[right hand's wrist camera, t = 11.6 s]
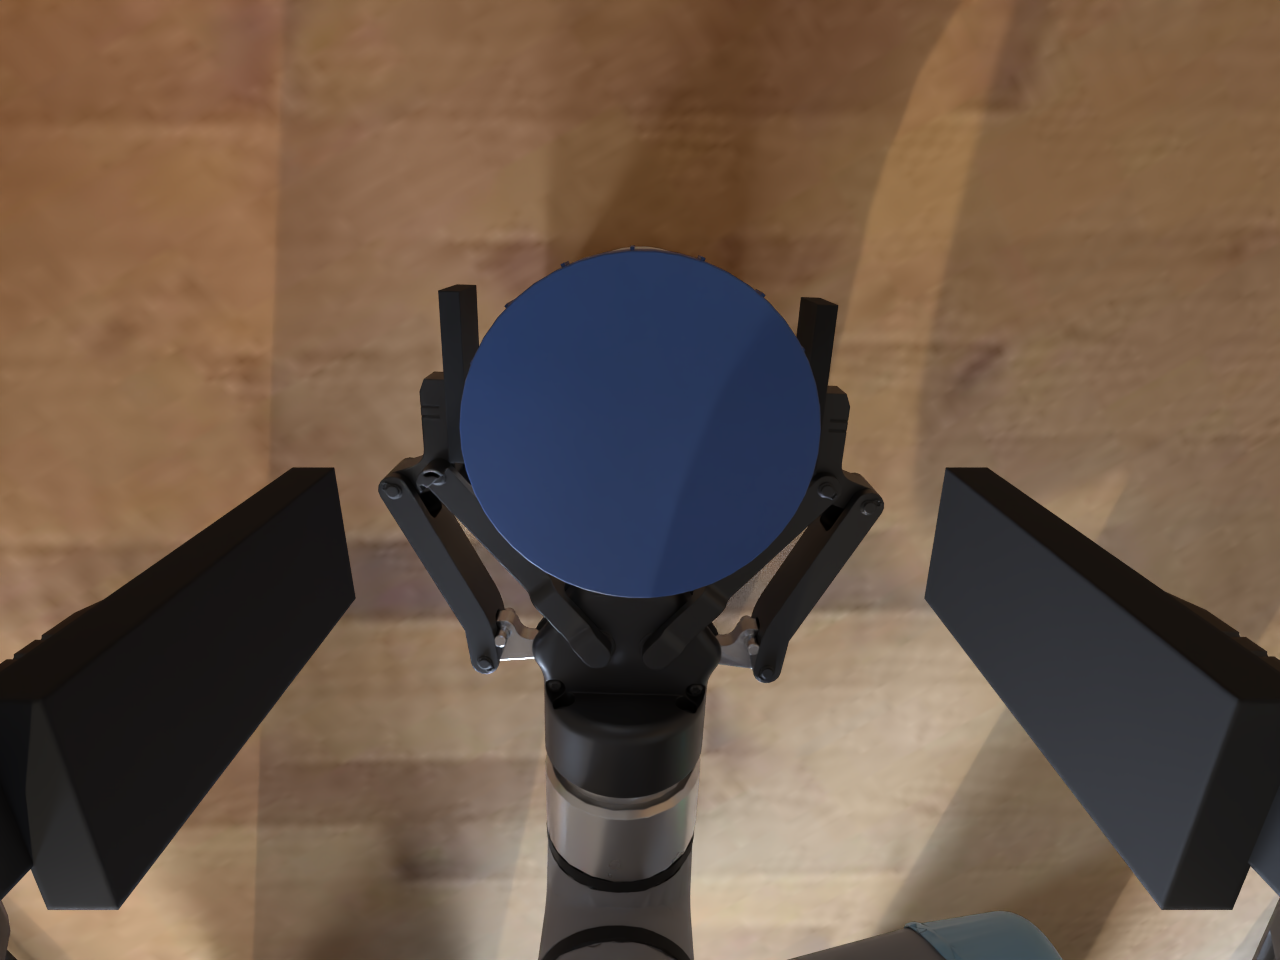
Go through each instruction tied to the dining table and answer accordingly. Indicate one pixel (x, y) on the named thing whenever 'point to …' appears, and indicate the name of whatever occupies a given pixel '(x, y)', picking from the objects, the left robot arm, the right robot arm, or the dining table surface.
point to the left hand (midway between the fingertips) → (639, 292)
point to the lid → (640, 423)
